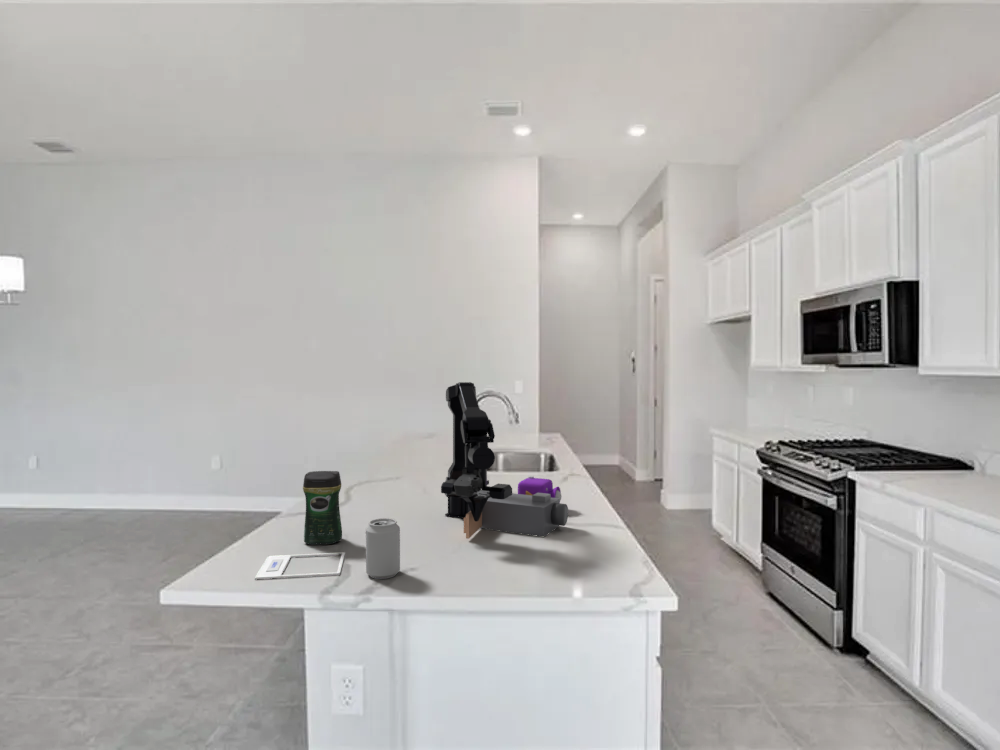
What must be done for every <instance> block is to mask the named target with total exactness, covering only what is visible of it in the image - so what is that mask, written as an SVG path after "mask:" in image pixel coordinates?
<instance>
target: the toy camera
mask: <svg viewBox="0 0 1000 750" xmlns="http://www.w3.org/2000/svg"><path fill="white" fill-rule="evenodd" d="M561 492H562V491H561V488H560V486H555V487H554V488H553V481H552V480H551V479H549V478H541V477H539V478H537V477H534V475H533V476H532V475H528V476H527V478H525V479H523V480H521V481H519V482H518V483H517V494H523V495H534V494H536V493H546V494H551V498H560V501H561V500H562V493H561Z"/></svg>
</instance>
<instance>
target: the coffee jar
mask: <svg viewBox="0 0 1000 750" xmlns="http://www.w3.org/2000/svg"><path fill="white" fill-rule="evenodd" d="M302 485H303V486H302V490H303V491H302V492H303V493H304V495H305V517H304V528H303V529H304V530H303V541H304V543H305V544H306V545H314V546H315V545H317V546H319V545H321V546H322V545H330V544H335V543H337V542H340V541H341V540H342V538H343V527H342V519H341V512H340V492H341V489H342V479H341V474H340V471H338V470H318V471H317V470H315V471H309V472H307V473H306V474H304V479H303V484H302Z"/></svg>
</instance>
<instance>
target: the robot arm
mask: <svg viewBox="0 0 1000 750" xmlns="http://www.w3.org/2000/svg"><path fill="white" fill-rule="evenodd" d="M476 391H477V389H476V386H475V384H474V382H471V381H469V382H466V381H465V382H464V381H463V382H462V381H461V382H457V383H455V384H454V385H450V386H448V387H447V388H446V390H445V401H446V402H447V407H448V409H449V411H450V412H451V414H452V463H451V465H450V466H449V468H448V469H447V476H446V477H445V481H443V482H442V483H441V486H440V494H444V496H445V497H446V498H447V512H446V513H445V514H444V516H446V517H453V518H458V519H459V518H460V519H464V517H466V514H467V513H468V512H469V511H471V513H472V515H473V518H474V521H476V522H477V521H479V518H480V516H481V513H482V511H483V508H484V506H485V504H486V502H487V500H488V498H490V497H491V498H493V499H505V498H507V497H509V496H511V495H512V493H513V488H512V486H511V484H508V483H507V484H506V483H496V484H494V485H492V486H489V485H490V480H488V470H490V468H492V466H493V465H494V463H495V459H496V456H495V453H494V451H493V450H492V449H491V448H490V447H489V443H490V444H491V443H494V442H495V440H494V439H495V437H496V435H495V431H494V426H493V425H494V424H493V423H492V421H491V419H490V418H489V416H488V414H487V413H486V412H485V411H484V410H483V409H481V408H480V406H479V402H478V400H477V392H476Z"/></svg>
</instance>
